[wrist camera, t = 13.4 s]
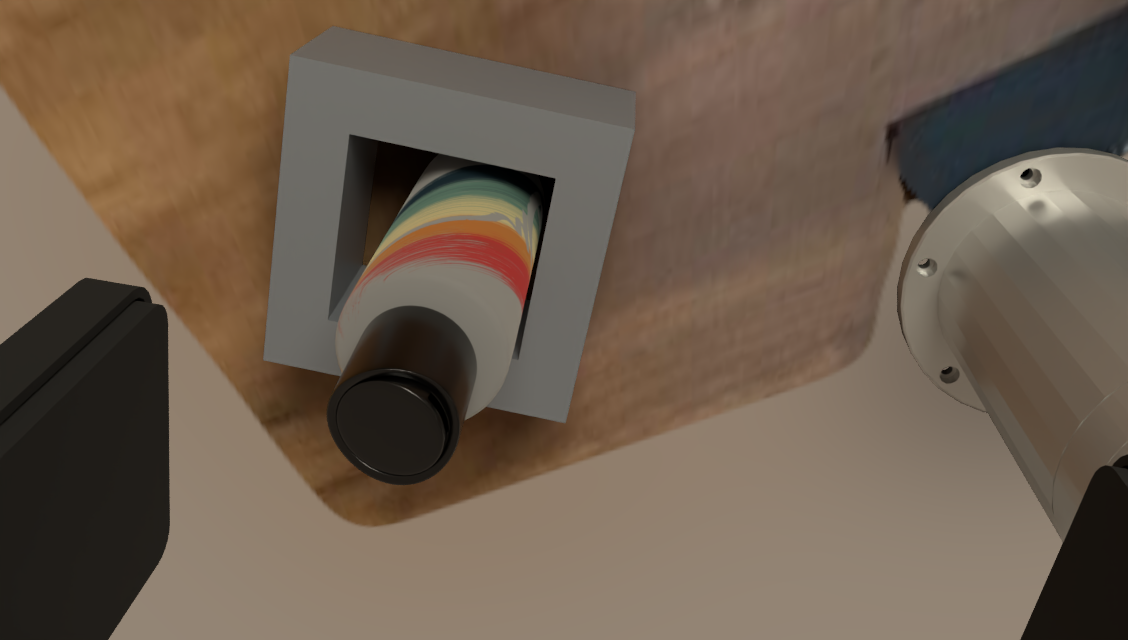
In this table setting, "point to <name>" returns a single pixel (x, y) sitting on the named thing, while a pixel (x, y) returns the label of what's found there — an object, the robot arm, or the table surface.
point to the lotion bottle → (434, 318)
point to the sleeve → (456, 128)
